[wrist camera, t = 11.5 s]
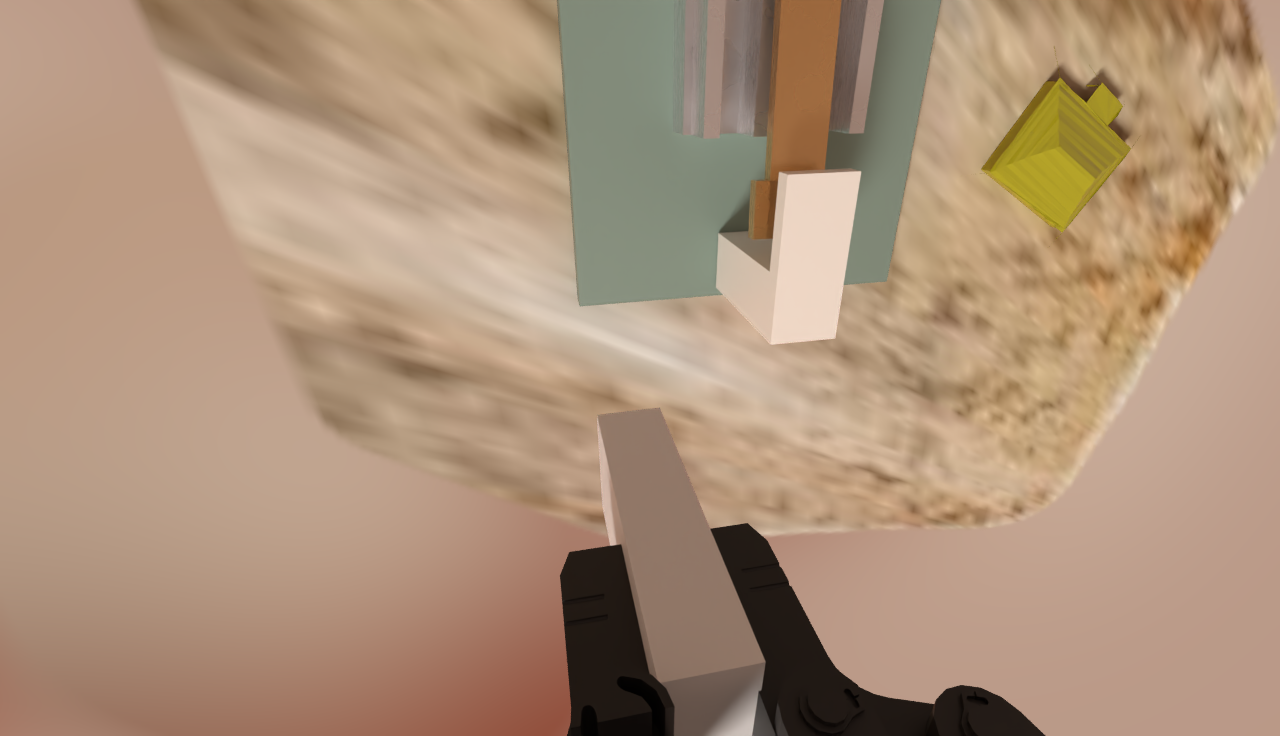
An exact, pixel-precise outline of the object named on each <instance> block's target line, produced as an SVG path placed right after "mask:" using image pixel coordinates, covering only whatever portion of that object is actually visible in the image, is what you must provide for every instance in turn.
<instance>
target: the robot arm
mask: <svg viewBox="0 0 1280 736" xmlns="http://www.w3.org/2000/svg"><path fill="white" fill-rule="evenodd" d="M597 424H598V441H599V458H600V475H601V491H602V505H603V511H604V516H605V521H606V526H607V531H608V536H609V541H610V546H606V547H600V548H593V549H587V550H580V551H574V552H569V554H568V557H567V559H566V562H565V564H564V567H563V569H562V572H561V575H560V580H561V591H562V604H563V616H564V627H565V640H566V651H567V663H568V675H569V686H570V698H571V723H570V727H569V731H568V734H567V736H1045V735H1044V734H1043V733H1042V732H1041V731H1040V730H1039V729H1038V728H1037V727H1036V726H1035V725H1034V724H1032V722H1031V721H1029V720H1028V719H1027V718H1026V717H1025V716H1024V715H1023V714H1022V713H1021V712H1020V711H1019V710H1017V709H1016V708H1015V707H1013V706H1012V705H1011V704H1009V703H1008V702H1007V701H1006V700H1004V699H1003V698H1002V697H1000V696H998V695H995V694H993V693H991V692H989V691H987V690H984V689H982V688H979V687H972V686H964V685H960V686H956V687H953V688H949V689H946V690H945V691H944V692H943V693H942V694H941V695H940V696H939V697H938V698H937V699H936V701H935V704H929V703H922V702H915V701H908V700H901V699H893V698H888V697H883V696H880V695H876V694H873V693H871V692H868V691H866V690H864V689H862V688H860V687H858V685H857V684H856V683H854V682H853V681H852V680H850V679H849V678H847V677H846V676H845V675H843V674H842V673H841V672H840V671H839V670H838V669H837V668H836V667H835V666H834V664H833V663H832V661H831V660H830V658H829V657H828V655H827V653H826V651H825V649H824V648H823V646H822V644H821V642H820V640H819V638H818V636H817V634H816V632H815V631H814V629H813V627H812V625H811V624H810V621H809V619H808V617H807V616H806V613H805V611H804V610H803V608H802V606H801V604H800V602H799V600H798V598H797V596H796V594H795V592H794V591H793V589H792V587H791V586H789V581H788V579H787V577H786V576H785V574H784V572H783V570H782V568H781V567H780V566H779V562H778V560H777V558H776V556H775V554H774V553H773V551H772V549H771V547H770V545H769V543H768V541H767V540H766V539H765V538H764V537H763V536H761V535H760V534H759V533H758V532H757V531H756V530H755V529H753V528H752V527H751V526H750V525H749V524H748V523H745V524H739V525H732V526H726V527H719V528H713V529H710V527H709V525H708V523H707V520H706V518H705V515H704V513H703V510H702V508H701V506H700V503H699V501H698V498H697V496H696V494H695V491H694V489H693V486H692V484H691V482H690V479H689V477H688V474H687V472H686V470H685V467H684V465H683V462H682V460H681V458H680V455H679V453H678V450H677V448H676V446H675V443H674V441H673V438H672V436H671V434H670V431H669V429H668V426H667V424H666V422H665V419H664V417H663V414H662V412H661V410H660V408H653V409H644V410H636V411H627V412H618V413H610V414H601V415H597Z"/></svg>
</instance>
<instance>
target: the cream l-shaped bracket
mask: <svg viewBox="0 0 1280 736" xmlns="http://www.w3.org/2000/svg"><path fill="white" fill-rule="evenodd" d="M860 177H861V171H858V170H855V169H851V168H849V169H827V170H805V171H783V172H779V177H778V188H777V199H776V209H775V220H774V231H773V239H758V240H753V239H750V238H748V231H741V232H725V233H719V234H718V254H717V275H716V288H717V289H718V290H719V291H720V292H721V293H722V294H723V295H724V296H725V297H726V298H727V300H728V301H729V302H730V303H731V304H732V305H733V306H734V307H735V308H736V309H737V310H738V311H739V312H740V313H741V314H742V315H743V316H744V317H745V318H746V319H747V320H748V322H749V323H750V324H751V325H752V326H753V327H754V328H755V329H756V330H757V331H758V332H759V333H760V334H761V335H762V336H763V337H764V338H765V339H766V340H767V341H768V343H769V344H770V345H773V344H783V343H793V342H803V341H813V340H824V339H834V338H835V336H836V329H837V323H838V317H839V310H840V304H841V298H842V291H843V285H844V278H845V272H846V266H847V259H848V253H849V247H850V240H851V234H852V228H853V221H854V215H855V209H856V202H857V196H858V190H859V183H860Z"/></svg>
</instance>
